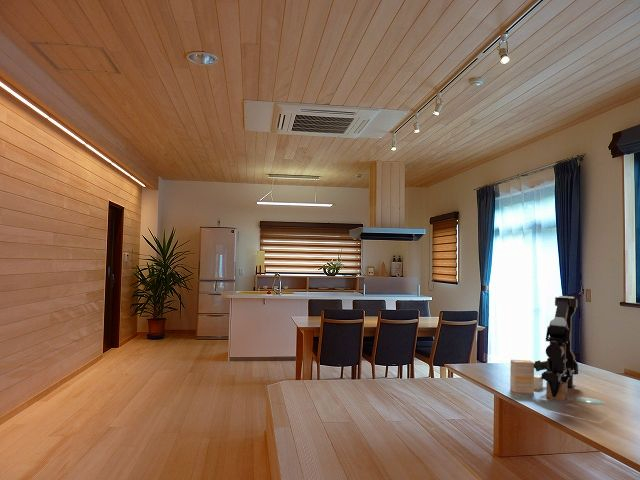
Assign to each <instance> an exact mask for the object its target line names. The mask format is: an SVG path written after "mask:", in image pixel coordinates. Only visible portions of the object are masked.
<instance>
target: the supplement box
mask: <svg viewBox="0 0 640 480" xmlns="http://www.w3.org/2000/svg"><path fill="white" fill-rule="evenodd" d="M534 364H535V362H534V361H531V360H525V359H510V376H509V377H510V382H509V384H510V387H509V389H510V391H511V392H512V393H514V394H528V395H534V393H535V392H534V391H535V390H534V374H535V368H534Z"/></svg>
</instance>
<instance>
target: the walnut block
mask: <svg viewBox="0 0 640 480" xmlns="http://www.w3.org/2000/svg"><path fill="white" fill-rule="evenodd" d="M545 385H546V386H545V387H546V390H545V392H546V393H545V394H546V398H551V399H555V400H560V401H563V400H565V399H567V397H568V388H567V383H565V382H562V383H561V385H560V388H559V390H558V393H557V395H556V397H553V396H552V393H551V389H550V386H549V383H548V382H547V381H546V384H545Z"/></svg>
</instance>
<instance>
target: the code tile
mask: <svg viewBox="0 0 640 480" xmlns="http://www.w3.org/2000/svg"><path fill="white" fill-rule="evenodd" d="M539 398H540V399H545V400H549V401H552V402H553V401H554V402H560V403H563V404H568V403H569V402H571V401H572V400H575V398H572V397H569V396H567V399H565V400H563V401H560V400H555V399H551V398H546V393H545V394H543V395H542V396H539Z"/></svg>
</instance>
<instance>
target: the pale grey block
mask: <svg viewBox="0 0 640 480" xmlns="http://www.w3.org/2000/svg"><path fill="white" fill-rule="evenodd" d="M543 384H544V379H541V375H538V374H535V373H534V389H537V390H539V389H541V388H543V387H544V385H543ZM537 390H536V391H537Z"/></svg>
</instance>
